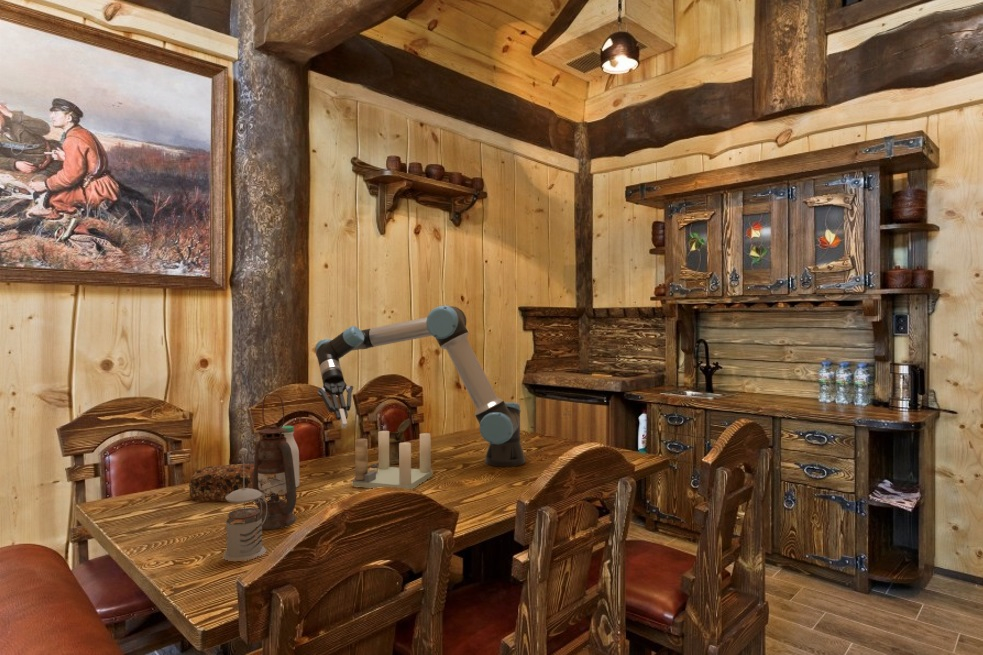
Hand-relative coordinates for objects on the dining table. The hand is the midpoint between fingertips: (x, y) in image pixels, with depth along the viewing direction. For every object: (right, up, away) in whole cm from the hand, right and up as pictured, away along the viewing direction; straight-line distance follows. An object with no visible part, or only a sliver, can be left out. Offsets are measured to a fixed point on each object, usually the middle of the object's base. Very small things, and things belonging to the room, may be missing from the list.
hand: (344, 425), depth 205 cm
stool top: (+18, -18, -4) cm, 26 cm away
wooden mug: (+14, -18, +21) cm, 31 cm away
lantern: (-8, -19, -44) cm, 49 cm away
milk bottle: (-16, -19, -10) cm, 27 cm away
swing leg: (+9, -16, -6) cm, 19 cm away
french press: (-7, -19, -65) cm, 68 cm away
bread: (-32, -19, -21) cm, 42 cm away
